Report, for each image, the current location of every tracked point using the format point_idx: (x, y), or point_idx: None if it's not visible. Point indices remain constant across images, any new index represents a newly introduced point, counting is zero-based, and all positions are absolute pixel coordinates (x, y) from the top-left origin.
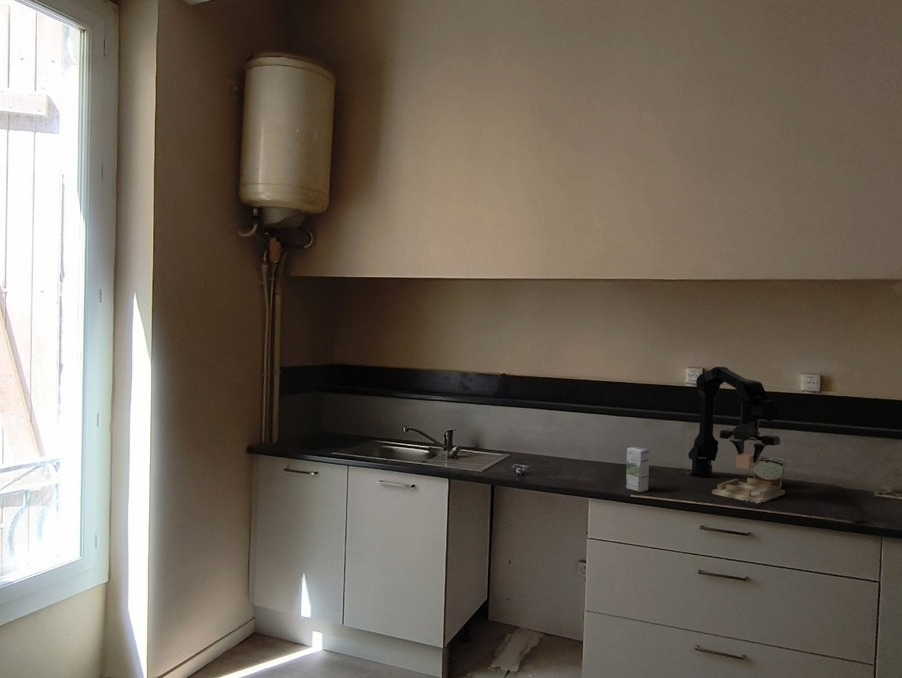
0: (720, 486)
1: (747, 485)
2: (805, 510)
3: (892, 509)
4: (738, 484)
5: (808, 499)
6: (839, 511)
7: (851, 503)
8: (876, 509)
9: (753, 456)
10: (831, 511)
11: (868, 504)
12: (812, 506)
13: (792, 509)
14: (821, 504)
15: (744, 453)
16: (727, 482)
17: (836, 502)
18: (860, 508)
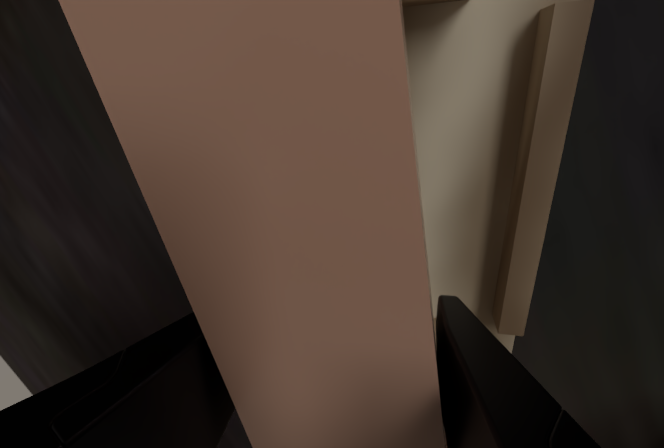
0: (552, 4)
1: (433, 307)
2: (35, 79)
3: (10, 363)
4: (485, 293)
5: (170, 304)
6: (5, 202)
7: (86, 353)
8: (14, 331)
9: (214, 321)
10: (8, 173)
11: (65, 375)
12: (84, 194)
13: (60, 30)
14: (100, 261)
15: (398, 399)
16: (534, 169)
17: (107, 333)
18: (30, 308)
